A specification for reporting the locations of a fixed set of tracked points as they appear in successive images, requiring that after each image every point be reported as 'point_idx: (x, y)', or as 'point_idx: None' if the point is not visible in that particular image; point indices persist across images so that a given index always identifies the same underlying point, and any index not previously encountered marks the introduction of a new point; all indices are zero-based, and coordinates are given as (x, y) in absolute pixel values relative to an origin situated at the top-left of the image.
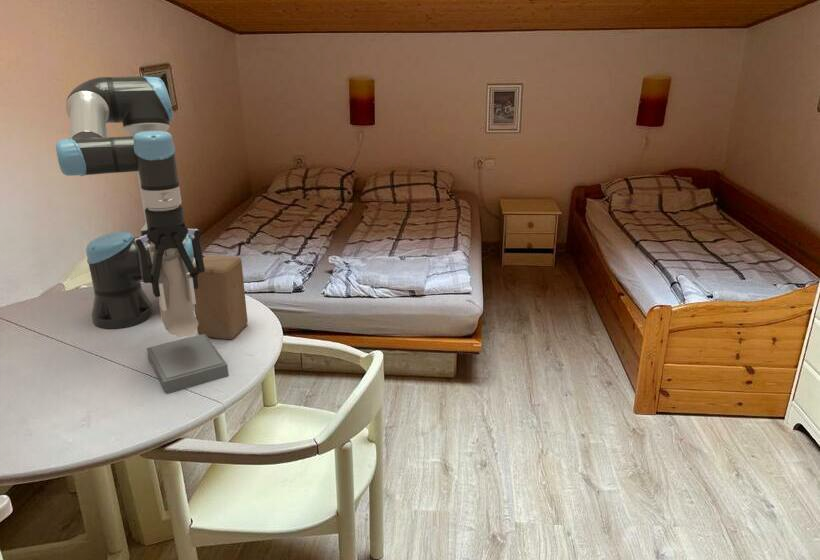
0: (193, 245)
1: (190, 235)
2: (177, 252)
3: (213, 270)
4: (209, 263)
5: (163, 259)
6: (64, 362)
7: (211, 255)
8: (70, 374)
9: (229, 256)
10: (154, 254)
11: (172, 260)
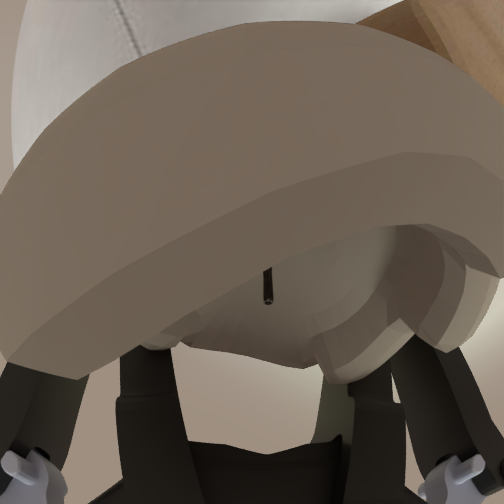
0: (428, 419)
1: (429, 497)
2: (330, 378)
3: None
4: (483, 55)
5: (203, 331)
6: (75, 21)
7: (502, 6)
8: (72, 66)
9: None
10: (122, 376)
11: (261, 358)
